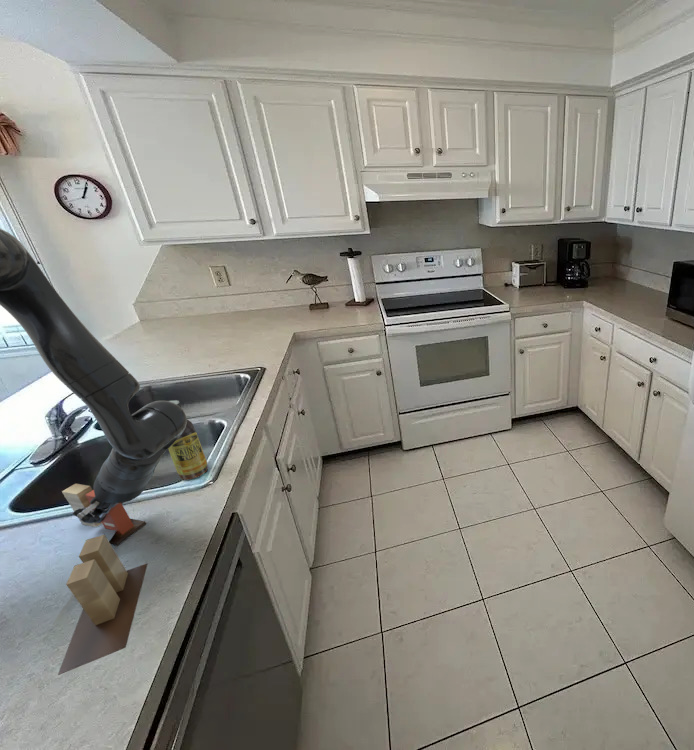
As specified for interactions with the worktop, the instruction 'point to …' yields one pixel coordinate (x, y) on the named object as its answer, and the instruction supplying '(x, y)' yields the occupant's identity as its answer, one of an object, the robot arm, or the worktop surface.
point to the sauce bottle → (188, 453)
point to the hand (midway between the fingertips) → (104, 513)
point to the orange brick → (115, 517)
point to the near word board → (106, 631)
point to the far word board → (79, 500)
